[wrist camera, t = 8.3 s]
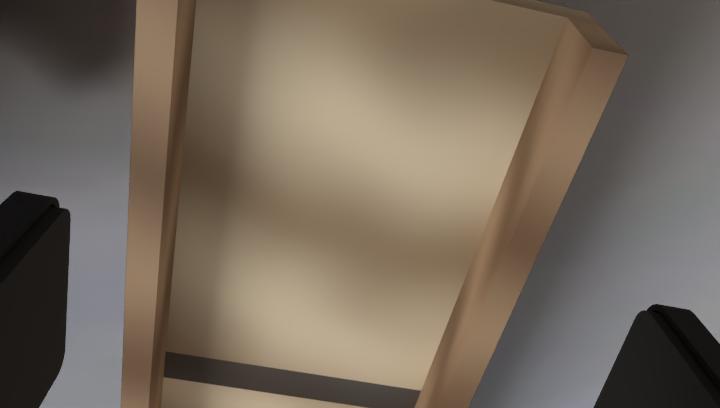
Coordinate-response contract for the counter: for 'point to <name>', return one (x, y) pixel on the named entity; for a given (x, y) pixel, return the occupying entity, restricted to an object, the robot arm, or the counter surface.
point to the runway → (344, 193)
